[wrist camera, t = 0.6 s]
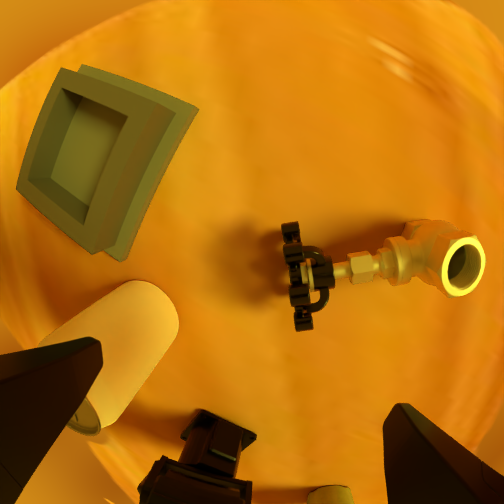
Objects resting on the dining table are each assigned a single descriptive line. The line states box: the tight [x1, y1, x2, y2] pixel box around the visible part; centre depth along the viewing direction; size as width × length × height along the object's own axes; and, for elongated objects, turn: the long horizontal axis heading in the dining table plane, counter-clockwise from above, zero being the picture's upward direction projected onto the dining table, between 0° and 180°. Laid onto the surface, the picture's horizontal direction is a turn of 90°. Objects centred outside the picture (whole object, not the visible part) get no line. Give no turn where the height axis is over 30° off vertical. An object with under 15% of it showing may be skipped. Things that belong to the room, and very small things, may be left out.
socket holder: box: [16, 64, 199, 262], centre depth 18 cm, size 13×13×4 cm
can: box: [37, 280, 179, 436], centre depth 17 cm, size 6×6×12 cm
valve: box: [281, 219, 486, 332], centre depth 16 cm, size 7×7×12 cm
